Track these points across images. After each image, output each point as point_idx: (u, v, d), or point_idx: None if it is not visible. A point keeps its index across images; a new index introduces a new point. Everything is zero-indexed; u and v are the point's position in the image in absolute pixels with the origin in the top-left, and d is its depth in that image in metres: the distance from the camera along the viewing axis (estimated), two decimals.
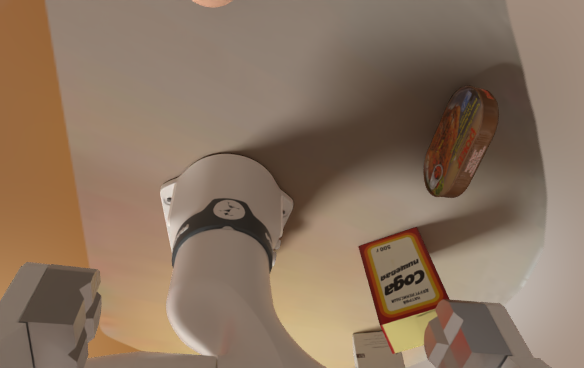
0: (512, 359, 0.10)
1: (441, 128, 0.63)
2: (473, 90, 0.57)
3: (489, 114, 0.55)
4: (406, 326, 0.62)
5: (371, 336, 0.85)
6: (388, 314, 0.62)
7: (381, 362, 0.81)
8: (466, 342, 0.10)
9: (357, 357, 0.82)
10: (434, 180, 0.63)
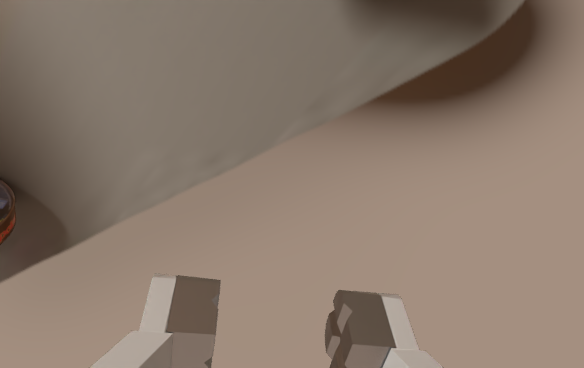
0: (395, 351, 0.10)
1: None
2: (8, 209, 0.38)
3: None
4: None
5: None
6: None
7: None
8: (349, 334, 0.10)
9: None
10: None
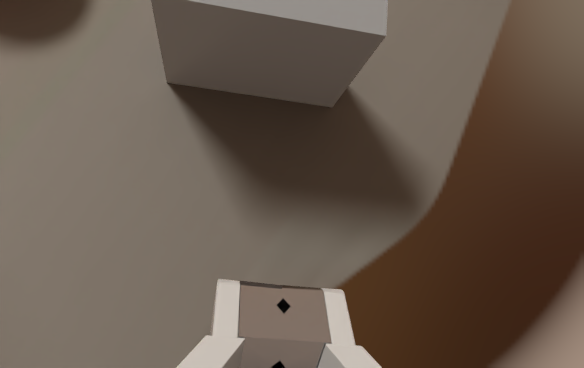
0: (330, 347, 0.09)
1: None
2: None
3: None
4: None
5: None
6: None
7: None
8: (284, 329, 0.10)
9: None
10: None
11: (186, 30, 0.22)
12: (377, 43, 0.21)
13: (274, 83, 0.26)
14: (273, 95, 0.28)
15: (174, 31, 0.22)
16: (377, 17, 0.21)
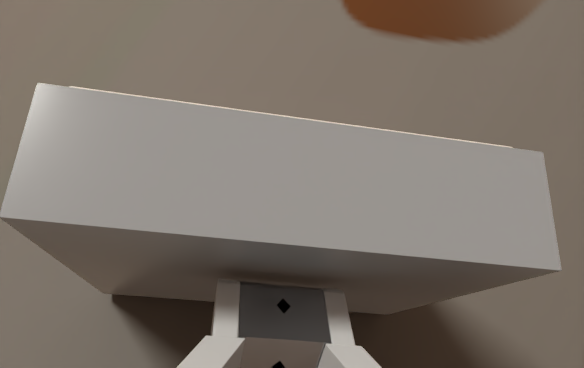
0: (330, 347, 0.09)
1: None
2: None
3: None
4: None
5: None
6: None
7: None
8: (284, 329, 0.10)
9: None
10: None
11: (113, 256, 0.10)
12: (531, 276, 0.10)
13: None
14: None
15: (88, 256, 0.10)
16: (535, 227, 0.09)
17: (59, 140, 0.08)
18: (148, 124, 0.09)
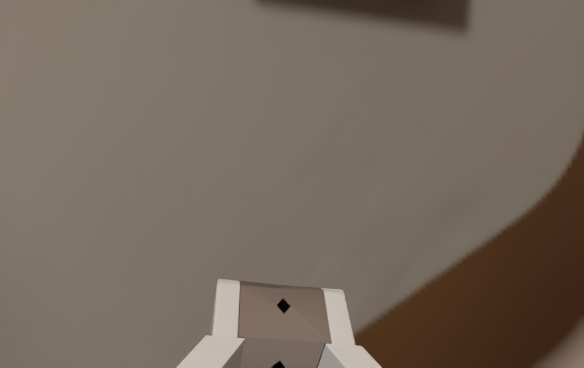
0: (330, 347, 0.09)
1: None
2: None
3: None
4: None
5: None
6: None
7: None
8: (284, 329, 0.10)
9: None
10: None
11: None
12: None
13: None
14: None
15: None
16: None
17: None
18: None
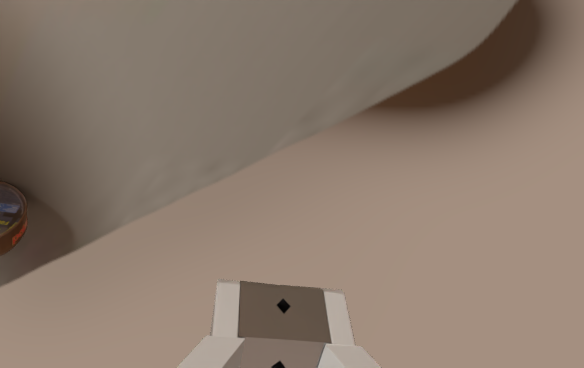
0: (330, 347, 0.09)
1: None
2: (20, 213, 0.40)
3: None
4: None
5: None
6: None
7: None
8: (284, 329, 0.10)
9: None
10: None
11: None
12: None
13: None
14: None
15: None
16: None
17: None
18: None
